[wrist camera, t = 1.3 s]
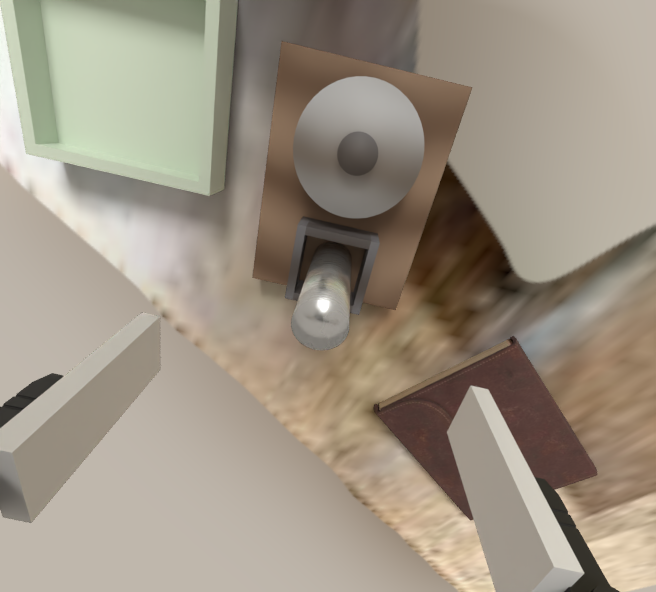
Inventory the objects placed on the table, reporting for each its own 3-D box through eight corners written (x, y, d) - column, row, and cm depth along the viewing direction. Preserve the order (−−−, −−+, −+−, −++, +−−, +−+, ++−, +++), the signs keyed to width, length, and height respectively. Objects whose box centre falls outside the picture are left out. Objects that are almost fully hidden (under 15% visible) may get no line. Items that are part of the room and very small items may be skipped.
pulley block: (287, 48, 22) (268, 25, 18) (463, 90, 23) (492, 79, 18) (258, 268, 29) (239, 295, 25) (393, 299, 30) (400, 331, 25)
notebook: (511, 332, 31) (521, 345, 29) (590, 460, 37) (602, 477, 35) (373, 401, 36) (374, 416, 34) (463, 505, 42) (468, 522, 40)
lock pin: (317, 237, 26) (296, 294, 17) (355, 246, 26) (355, 307, 17) (309, 273, 27) (286, 343, 18) (346, 281, 27) (341, 355, 18)
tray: (33, -54, 21) (-15, -81, 18) (238, -3, 22) (221, -22, 19) (59, 151, 26) (26, 153, 24) (224, 189, 27) (209, 195, 24)
